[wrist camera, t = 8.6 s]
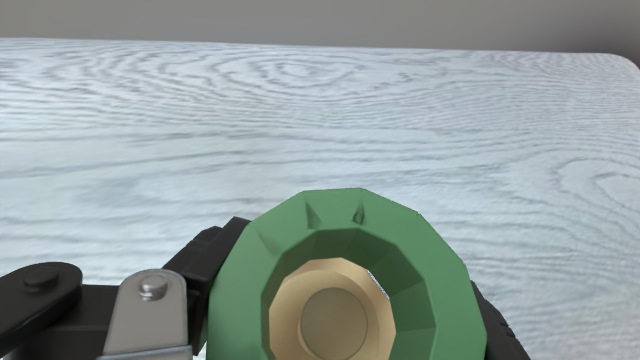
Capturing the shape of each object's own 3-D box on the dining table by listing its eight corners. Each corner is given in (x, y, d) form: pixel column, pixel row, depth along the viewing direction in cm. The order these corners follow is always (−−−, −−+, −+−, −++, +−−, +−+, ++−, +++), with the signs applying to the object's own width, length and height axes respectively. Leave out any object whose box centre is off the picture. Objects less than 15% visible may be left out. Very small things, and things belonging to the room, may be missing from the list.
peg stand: (202, 315, 20) (116, 283, 10) (328, 230, 23) (356, 142, 13) (290, 481, 17) (290, 681, 7) (421, 354, 20) (552, 360, 10)
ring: (193, 296, 10) (157, 276, 7) (348, 195, 12) (365, 151, 10) (308, 513, 8) (318, 604, 5) (470, 346, 10) (539, 346, 7)
